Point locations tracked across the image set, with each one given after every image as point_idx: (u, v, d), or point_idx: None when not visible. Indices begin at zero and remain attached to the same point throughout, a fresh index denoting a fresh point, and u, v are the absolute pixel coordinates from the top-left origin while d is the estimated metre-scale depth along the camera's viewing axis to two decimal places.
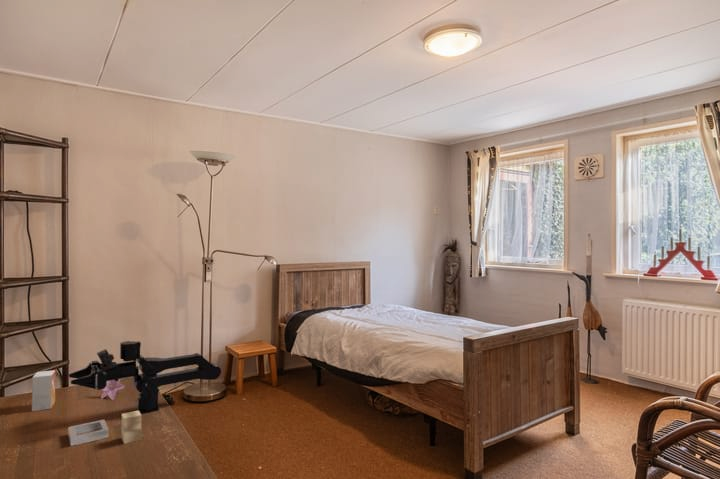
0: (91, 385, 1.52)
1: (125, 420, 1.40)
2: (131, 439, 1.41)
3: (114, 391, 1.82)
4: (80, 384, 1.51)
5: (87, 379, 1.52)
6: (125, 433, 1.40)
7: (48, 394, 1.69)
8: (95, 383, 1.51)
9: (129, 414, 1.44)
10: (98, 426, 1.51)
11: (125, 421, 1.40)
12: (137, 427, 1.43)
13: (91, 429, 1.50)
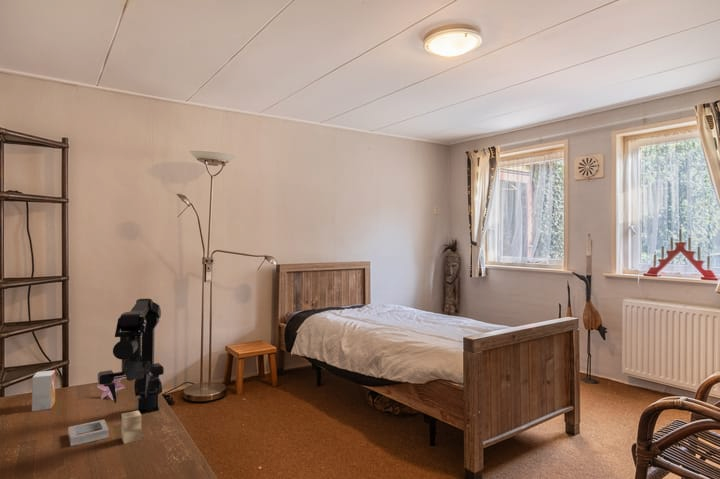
0: None
1: (125, 420, 1.40)
2: (131, 439, 1.41)
3: None
4: None
5: None
6: (125, 433, 1.40)
7: (48, 394, 1.69)
8: None
9: (129, 414, 1.44)
10: (98, 426, 1.51)
11: (125, 421, 1.40)
12: (137, 427, 1.43)
13: (91, 429, 1.50)
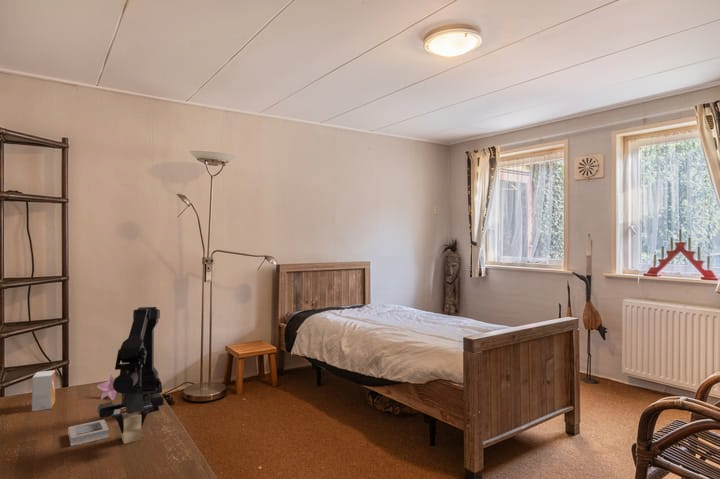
0: None
1: (125, 420, 1.40)
2: (131, 439, 1.41)
3: (114, 391, 1.81)
4: None
5: None
6: (125, 433, 1.40)
7: (48, 394, 1.69)
8: None
9: (129, 414, 1.44)
10: (98, 426, 1.51)
11: (125, 421, 1.40)
12: (137, 427, 1.43)
13: (91, 429, 1.50)
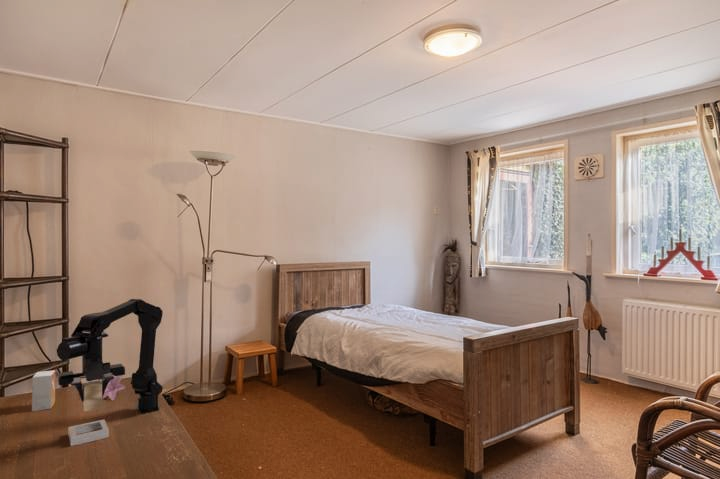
0: None
1: (85, 388, 1.42)
2: (91, 407, 1.43)
3: (114, 392, 1.81)
4: None
5: None
6: (85, 401, 1.42)
7: (48, 394, 1.69)
8: None
9: (90, 383, 1.46)
10: (98, 426, 1.51)
11: (85, 389, 1.42)
12: (98, 395, 1.45)
13: (91, 429, 1.50)
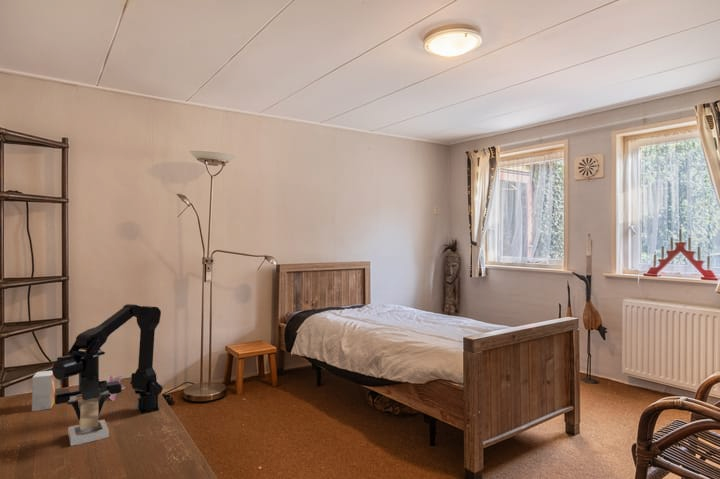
0: None
1: (81, 407, 1.43)
2: (88, 425, 1.44)
3: None
4: None
5: None
6: (81, 419, 1.43)
7: (48, 394, 1.69)
8: None
9: (87, 401, 1.46)
10: (98, 426, 1.51)
11: (81, 408, 1.43)
12: (94, 413, 1.45)
13: (91, 429, 1.50)
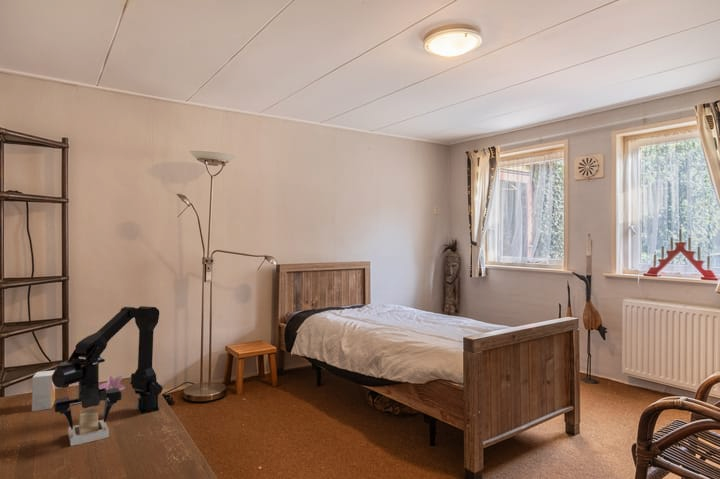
0: None
1: (81, 417, 1.43)
2: None
3: None
4: None
5: None
6: (81, 430, 1.43)
7: (48, 394, 1.69)
8: None
9: (86, 411, 1.46)
10: (98, 426, 1.51)
11: (81, 418, 1.43)
12: (94, 424, 1.45)
13: None
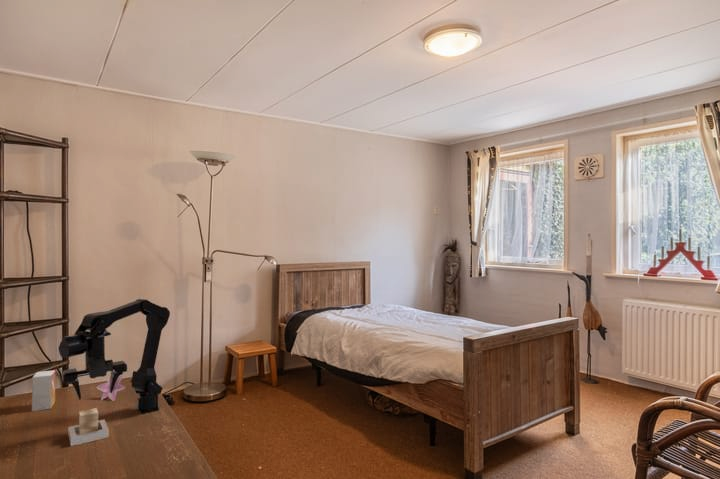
0: None
1: (81, 417, 1.43)
2: None
3: (114, 392, 1.80)
4: None
5: None
6: (81, 430, 1.43)
7: (48, 394, 1.69)
8: None
9: (86, 411, 1.46)
10: (98, 426, 1.51)
11: (81, 418, 1.43)
12: (94, 424, 1.45)
13: None
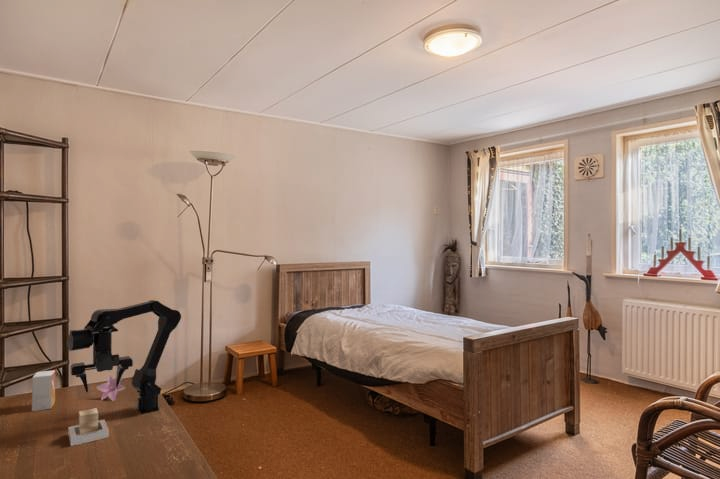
0: None
1: (81, 417, 1.43)
2: None
3: (114, 392, 1.80)
4: None
5: None
6: (81, 430, 1.43)
7: (48, 394, 1.69)
8: None
9: (86, 411, 1.46)
10: (98, 426, 1.51)
11: (81, 418, 1.43)
12: (94, 424, 1.45)
13: None
